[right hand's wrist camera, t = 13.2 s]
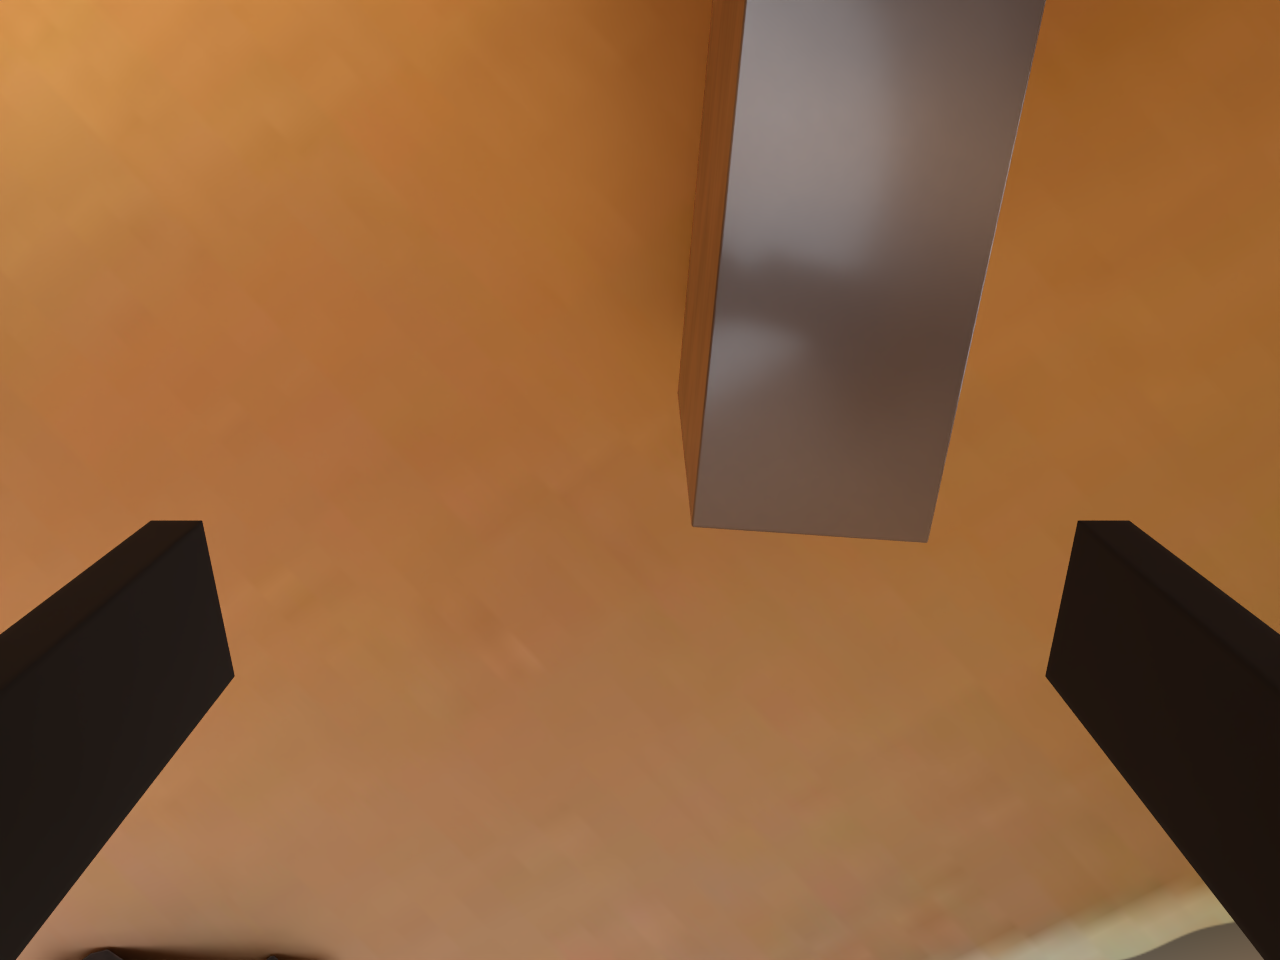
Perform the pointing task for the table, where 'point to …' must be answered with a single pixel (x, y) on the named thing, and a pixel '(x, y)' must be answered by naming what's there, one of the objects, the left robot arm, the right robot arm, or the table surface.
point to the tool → (109, 959)
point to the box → (842, 254)
